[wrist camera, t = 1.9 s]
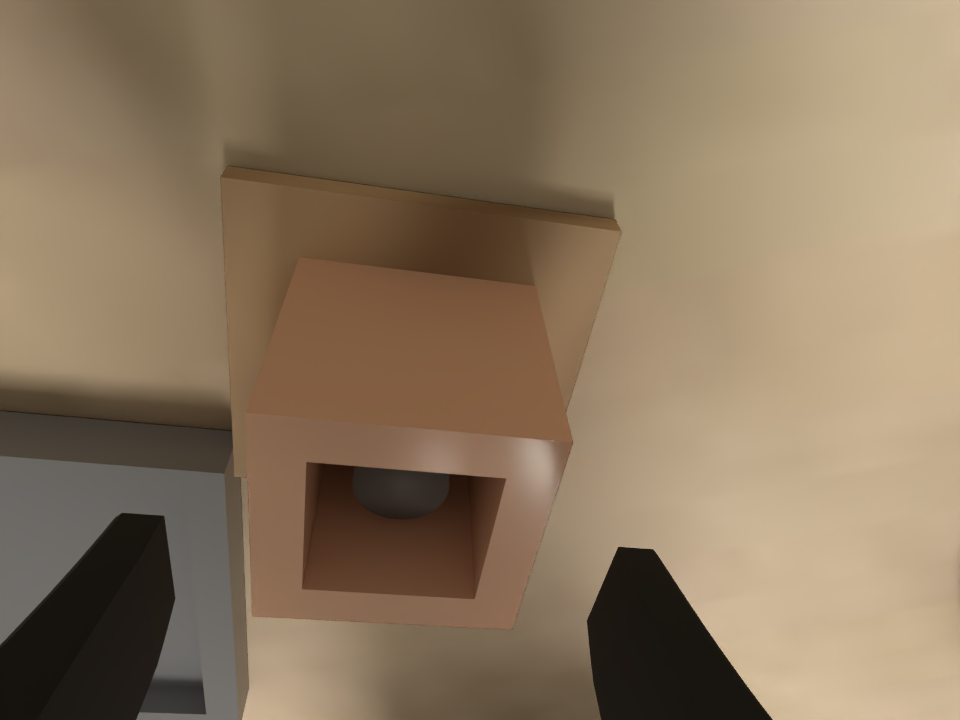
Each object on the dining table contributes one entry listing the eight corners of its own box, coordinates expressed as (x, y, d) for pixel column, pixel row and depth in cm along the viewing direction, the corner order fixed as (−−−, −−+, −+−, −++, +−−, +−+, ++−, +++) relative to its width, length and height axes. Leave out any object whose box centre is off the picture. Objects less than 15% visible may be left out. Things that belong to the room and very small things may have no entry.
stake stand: (615, 219, 15) (672, 332, 11) (536, 484, 19) (559, 625, 16) (228, 166, 14) (155, 271, 10) (239, 460, 18) (192, 605, 15)
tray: (238, 431, 18) (223, 473, 16) (248, 687, 24) (239, 731, 23) (-299, 384, 16) (-360, 427, 15) (-129, 673, 23) (-161, 719, 22)
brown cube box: (536, 285, 15) (573, 442, 11) (489, 477, 18) (504, 653, 14) (299, 257, 14) (245, 412, 10) (294, 461, 18) (252, 640, 14)
